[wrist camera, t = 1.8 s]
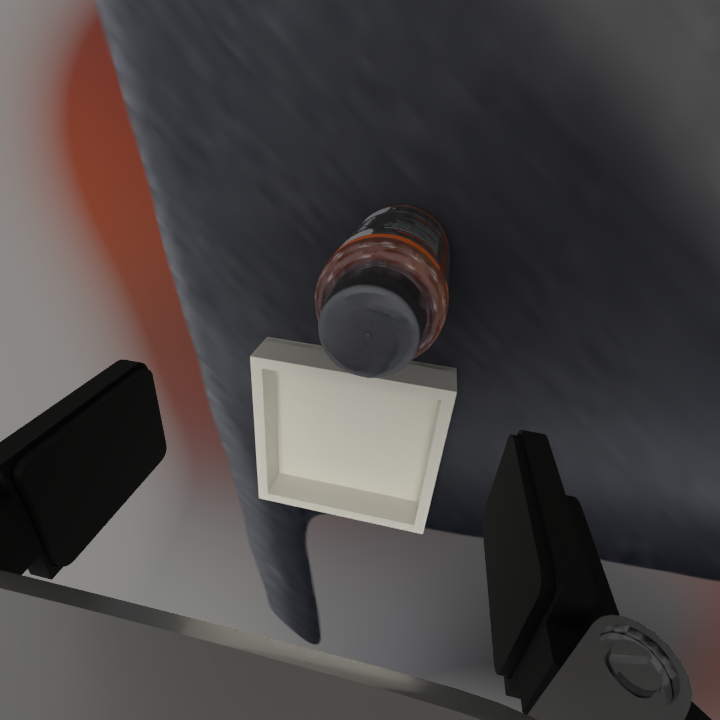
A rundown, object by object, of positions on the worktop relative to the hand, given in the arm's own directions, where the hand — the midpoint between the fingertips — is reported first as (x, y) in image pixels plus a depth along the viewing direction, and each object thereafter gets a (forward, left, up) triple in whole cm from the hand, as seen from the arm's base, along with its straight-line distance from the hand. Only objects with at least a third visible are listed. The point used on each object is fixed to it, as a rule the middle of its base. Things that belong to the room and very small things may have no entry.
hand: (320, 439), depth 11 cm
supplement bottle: (0, 0, -17) cm, 17 cm away
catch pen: (+14, -2, -17) cm, 22 cm away
